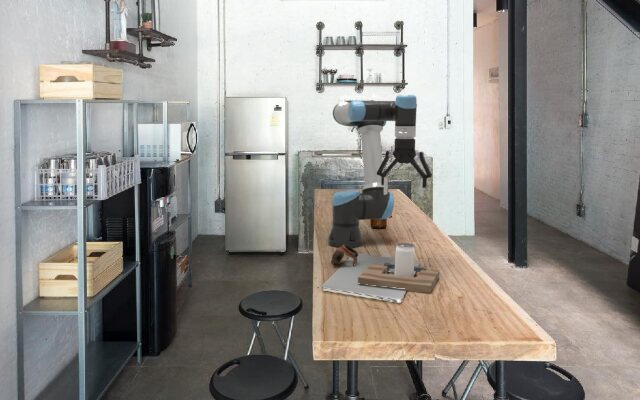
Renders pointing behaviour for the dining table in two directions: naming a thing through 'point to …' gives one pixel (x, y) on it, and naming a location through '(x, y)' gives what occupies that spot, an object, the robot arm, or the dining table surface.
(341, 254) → the pottery mug
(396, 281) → the wooden frame board
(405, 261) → the can
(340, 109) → the robot arm
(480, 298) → the dining table surface
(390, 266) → the cross rail
